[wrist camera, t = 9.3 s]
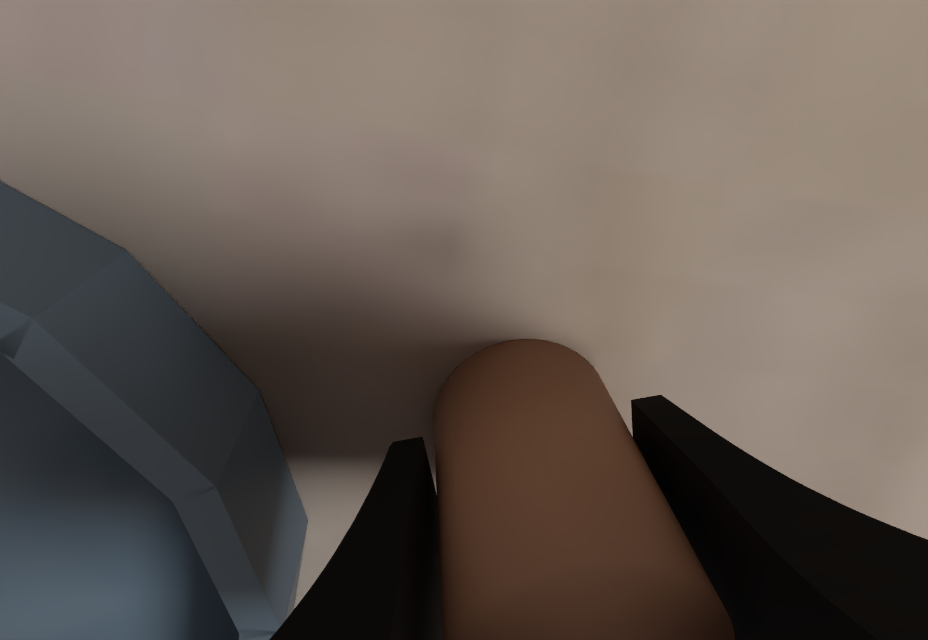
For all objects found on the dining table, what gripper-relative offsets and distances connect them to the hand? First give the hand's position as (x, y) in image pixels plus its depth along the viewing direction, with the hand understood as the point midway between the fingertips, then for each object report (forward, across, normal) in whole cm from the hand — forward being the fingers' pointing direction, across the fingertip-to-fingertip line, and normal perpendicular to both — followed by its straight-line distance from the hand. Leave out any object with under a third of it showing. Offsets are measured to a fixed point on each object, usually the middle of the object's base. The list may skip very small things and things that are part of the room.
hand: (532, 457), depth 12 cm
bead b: (+1, 0, 0) cm, 1 cm away
